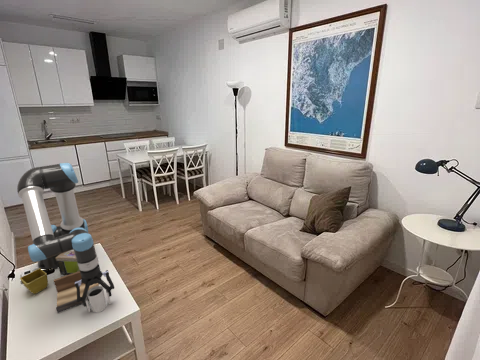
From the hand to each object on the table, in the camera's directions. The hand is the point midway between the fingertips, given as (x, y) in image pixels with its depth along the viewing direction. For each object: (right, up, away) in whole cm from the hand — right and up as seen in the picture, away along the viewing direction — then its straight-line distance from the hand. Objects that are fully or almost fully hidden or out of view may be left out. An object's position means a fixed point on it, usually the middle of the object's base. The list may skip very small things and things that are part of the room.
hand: (99, 305), depth 118 cm
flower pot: (-39, +2, +12) cm, 40 cm away
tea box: (-23, +6, +22) cm, 33 cm away
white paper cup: (0, -1, 0) cm, 1 cm away
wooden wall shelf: (-14, +2, +7) cm, 16 cm away
